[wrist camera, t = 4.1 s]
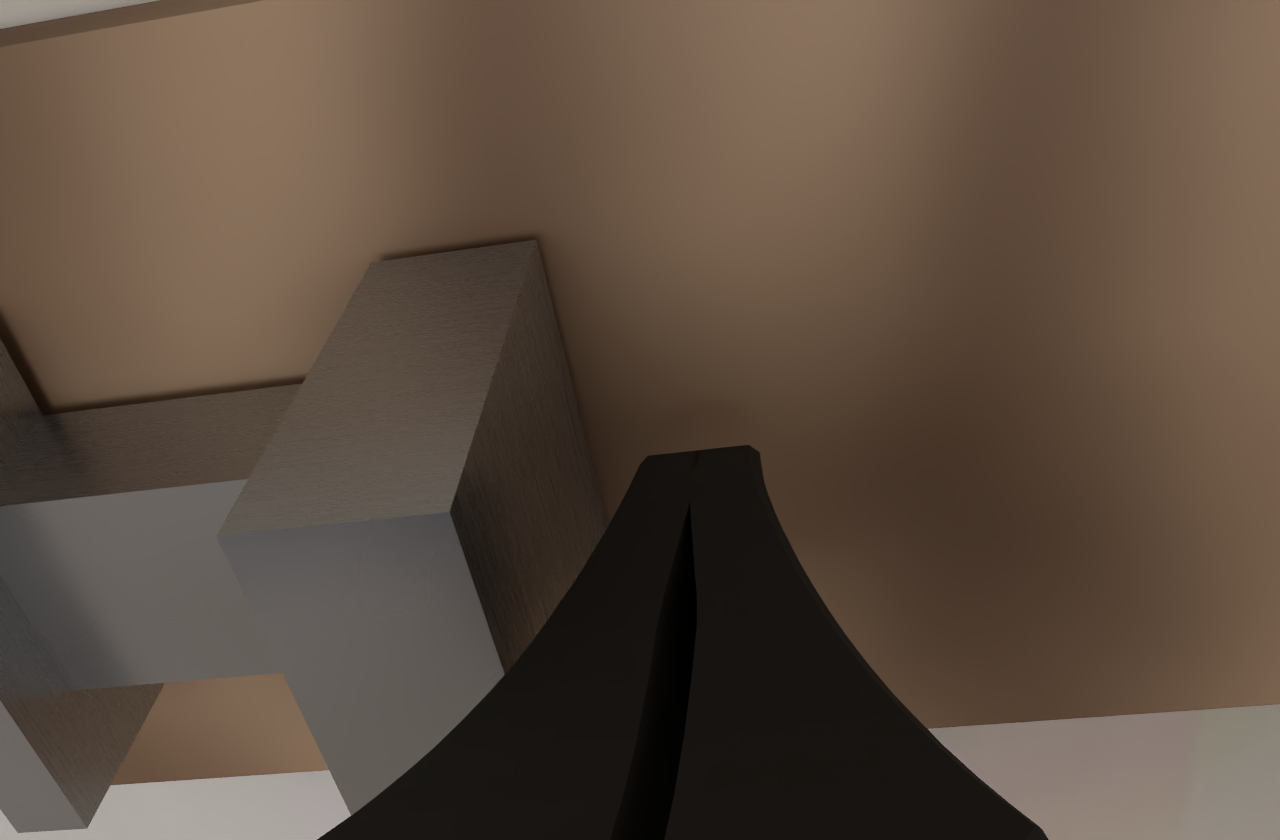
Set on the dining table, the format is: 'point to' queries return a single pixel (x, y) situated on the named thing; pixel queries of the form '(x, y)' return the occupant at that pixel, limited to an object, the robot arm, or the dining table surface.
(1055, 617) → the launcher board
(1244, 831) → the dining table surface
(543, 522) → the grey h-shaped block
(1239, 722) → the dining table surface
